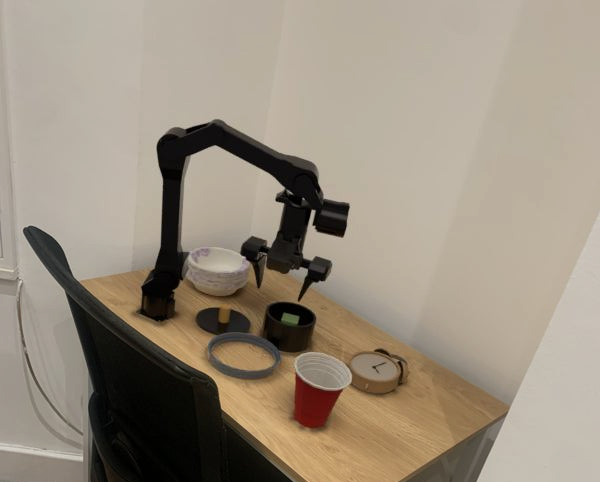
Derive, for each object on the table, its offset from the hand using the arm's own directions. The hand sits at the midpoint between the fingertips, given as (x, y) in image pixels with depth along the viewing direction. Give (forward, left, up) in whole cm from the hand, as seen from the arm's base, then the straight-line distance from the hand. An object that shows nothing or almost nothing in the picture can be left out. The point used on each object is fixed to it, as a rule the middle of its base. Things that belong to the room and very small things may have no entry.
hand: (278, 294), depth 138 cm
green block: (+3, +1, -10) cm, 11 cm away
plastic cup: (+20, -22, -11) cm, 32 cm away
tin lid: (-11, -3, -10) cm, 15 cm away
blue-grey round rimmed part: (0, -13, -11) cm, 17 cm away
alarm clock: (+25, +2, -11) cm, 28 cm away
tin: (+3, +1, -11) cm, 11 cm away
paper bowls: (-22, +11, -11) cm, 27 cm away
